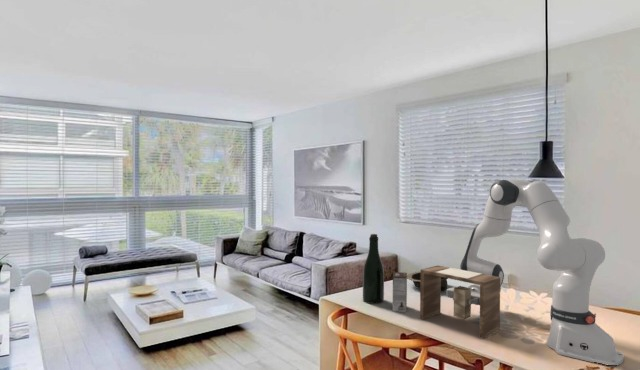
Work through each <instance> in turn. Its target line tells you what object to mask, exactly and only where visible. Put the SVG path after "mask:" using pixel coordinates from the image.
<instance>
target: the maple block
mask: <svg viewBox="0 0 640 370" xmlns="http://www.w3.org/2000/svg"><path fill="white" fill-rule="evenodd" d="M455 287H456V288H454V300H453V317H454V318H457V319H462V320H467V319H469V318H471V317H472V316H471V315H472V312H471V311H472V304H471V305H470V304H467V299H471V288H468V287H467V286H463V285H458V286H455Z"/></svg>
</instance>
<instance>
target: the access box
mask: <svg viewBox="0 0 640 370" xmlns="http://www.w3.org/2000/svg"><path fill="white" fill-rule="evenodd" d="M420 271H421V274H420V288H419V289H420V292H419V293H420V294H419V319H420V320H426V319H429V318H431V317H433V316H436V315H439V314H440V313H441V305H442V304H441V301H442V299H441V296H442V294H441V293H442V292H441V291H442V290H441V277H444V278H448V279H450V280H453V281H458V282H459V281H460V282H464V283H467V284H468V283H469V284H472V285H473V284H477V285H480V305H479V339H486V338H488V337H489V336H491V335H494V334H495V333H497V332H499V331H500V329H501V328H500V327H501V323H500V322H501V292H500V277H497V276H491V275H486V274H481V273H476V272H471V271H465V270H461V268H460V269H459V268H454V267H448V266H444V265H434V266H430V267H426V268H423V269H420Z"/></svg>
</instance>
